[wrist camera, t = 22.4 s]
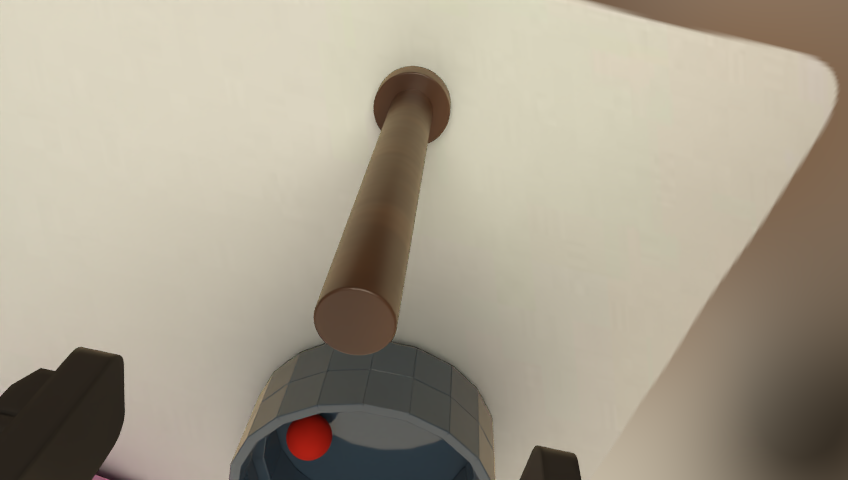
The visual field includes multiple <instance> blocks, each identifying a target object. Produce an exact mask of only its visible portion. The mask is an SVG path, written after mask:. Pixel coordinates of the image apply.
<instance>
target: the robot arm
mask: <svg viewBox="0 0 848 480" xmlns="http://www.w3.org/2000/svg"><path fill="white" fill-rule="evenodd" d="M124 415H125V403H124V362H123V358H122V356H120V355H117V354H112V353H107V352H103V351H98V350H93V349H88V348H84V347H78V348H76V349H75V350H74V351H73V352H72V353H71V354H70V355H69V356H68V357H67V358H66V359H65V361H64V362H63V363H62V364H61V365H60V366H59V367H58V369H57V370H56V371H52V370H47V369H42V368H40V369H38V370H37V371H35V372H33V373H31V374H30V375H28V376H26V377H24V378H23V379H21V380H19V381H17V382H16V383H14V384H12V385H11V386H10V387H9V388H8V389H7V390H6V391H5V392H4V393H3V394H2V395H1V397H0V480H92V479H93V477H94V476H95V474H96V473H97V471H98V470H99V468H100V467H101V465H102V464H103V462H104V460H105V459H106V457H107V456H108V454H109V453H110V451H111V450H112V448H113V447H114V445H115V443H116V441H117V439H118V437H119V434H120V432H121V429H122V425H123V421H124ZM520 480H581V476H580V470H579V464H578V460H577V457H576V455H575V454H574V453H570V452H565V451H561V450H556V449H551V448H547V447H542V446H535V447H534V449H533V450H532V452H531V455H530V457H529V459H528V462H527V464H526V467H525V469H524V471H523V474H522V476H521V478H520Z"/></svg>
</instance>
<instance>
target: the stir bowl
mask: <svg viewBox="0 0 848 480" xmlns="http://www.w3.org/2000/svg"><path fill="white" fill-rule="evenodd" d="M316 414H318V415H320V416H322V417H323V418H325V419H326V420H327V422H328V423H329V425H330V427H331V430H332V442H331V445H330V447H329V449H328V450H327V452H326V453H325V454H324V455H323V456H321V457H320V458H318V459H315V460H310V461H306V460H301V459H299V458H297V457H295V456H294V455H293V454H292V453H291V452H290V450H289V448H288V446H287V442H286V435H287V430H288V428H289V426H290V424H291V423H292V422H293V421H296V420H299V419H303V418H306V417H309V416H313V415H316ZM229 480H495V457H494V438H493V422H492V416H491V414H490V412H489V411H488V409H487V407H486V405H485V403H484V401H483V399H482V397H481V395H480V393H479V391H478V389H477V388H476V387H475V386H474V385H472V384H471V383H470V382H469V381H468V380H467V379H466V378H465V377H464V376H463V375H462V374H461V373H460V372H459V371H458V370H457V369H456V368H454V367H453V366H451V365H450V364H448V363H446V362H444V361H442V360H440V359H438V358H436V357H434V356H432V355H430V354H428V353H426V352H424V351H422V350H420V349H418V348H417V349H416V347H411V346H407V345H402V344H397V343H393V342H390V343H389V344H388V345H387V346H385V347H384V348H383V349H381V350H379V351H377V352H375V353H372V354H368V355H350V354H346V353H342V352H340V351H337V350H335V349H334V348H332V347H330V346H329V345H328V344H324V345H321V346H318V347H315V348H312V349H309V350H306V351H303V352H301V353H299V354H298V355H296V356H295V357H294V358H292V359H291V360H289V361H288V362H287V363H285V364H284V365H283V366H281V367H280V368H279V369H277V370H276V371H275V372H274V373H273V374H272V376H271V377H270V379H269V381H268V382H267V384H266V386H265V387H264V389H263V390H262V392H261V394H260V395H259V397H258V400H257V402H256V404H255V407H254V409H253V412H252V414H251V416H250V419H249V421H248V423H247V426H246V428H245V431H244V433H243V435H242V438H241V440H240V443H239V445H238V447H237V450H236V452H235V455H234V457H233V459H232V462H231V465H230V475H229Z"/></svg>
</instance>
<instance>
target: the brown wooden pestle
mask: <svg viewBox="0 0 848 480" xmlns="http://www.w3.org/2000/svg"><path fill="white" fill-rule="evenodd" d="M450 106H451V101H450V95H449V92H448V89H447V87H446V85H445V83H444V82H443V81H442V79H441V78H440V77H439V76H438V75H436V74H435V73H434V72H432V71H430V70H428V69H426V68H422V67H417V66H408V67H403V68H400V69H397V70H395V71H394V72H392V73H391V74H389V75H388V76H387V77H386V78H385V79H384V81H383V82H382V84H381V85H380V87H379V89H378V92H377V94H376V97H375V100H374V116H375V120H376V122H377V125H378V127H379V128H380V130H381V133H380V135H379V138H378V141H377V143H376V146H375V149H374V151H373V154H372V157H371V159H370V162H369V165H368V167H367V170H366V173H365V176H364V178H363V181H362V184H361V186H360V189H359V192H358V194H357V197H356V200H355V202H354V205H353V208H352V210H351V213H350V216H349V219H348V221H347V224H346V227H345V229H344V232H343V235H342V237H341V240H340V243H339V245H338V248H337V251H336V253H335V256H334V259H333V262H332V264H331V267H330V270H329V272H328V275H327V278H326V280H325V283H324V286H323V288H322V291H321V294H320V296H319V299H318V302H317V305H316V307H315V311H314V324H315V327H316V330H317V332H318V334H319V336H320V337H321V338H322V339H323V340H324V341H325V343H327V344H328V345H329V346H330V347H332V348H334V349H335V350H337V351H340V352H342V353H346V354H350V355H368V354H372V353H375V352H377V351H379V350H381V349H383V348H384V347H385V346H387V345H388V344H389V343H390V342H391V340H392V339H393V337H394V335H395V333H396V329H397V323H398V317H399V311H400V305H401V299H402V293H403V287H404V281H405V275H406V270H407V264H408V258H409V252H410V246H411V240H412V234H413V228H414V222H415V216H416V210H417V204H418V198H419V192H420V186H421V180H422V174H423V168H424V162H425V156H426V150H427V145H428V143H430V142H432V141H434V140H435V139H436V138H438V137H439V136H440V135H441V133H442V132H443V131H444V129H445V128H446V126H447V124H448V120H449V116H450Z"/></svg>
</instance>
